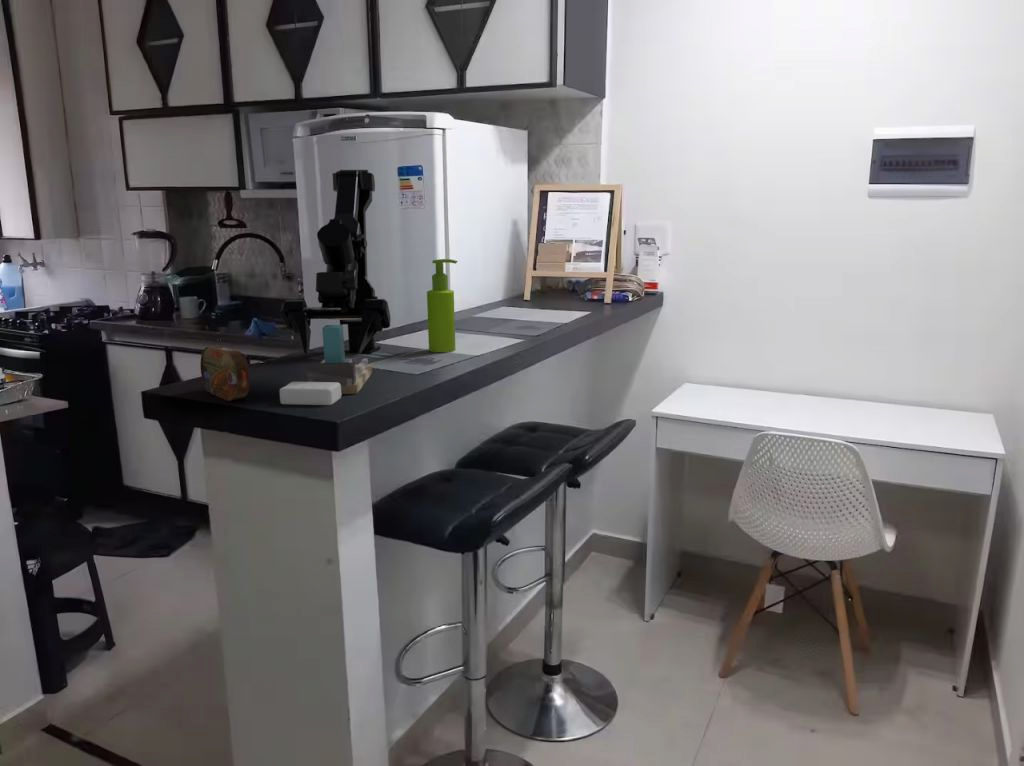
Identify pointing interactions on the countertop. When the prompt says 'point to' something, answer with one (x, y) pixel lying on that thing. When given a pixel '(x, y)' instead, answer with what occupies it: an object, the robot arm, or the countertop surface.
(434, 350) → the soap dispenser
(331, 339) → the sliding block
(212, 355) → the tin
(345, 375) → the guide rail
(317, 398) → the soap
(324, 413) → the countertop surface
